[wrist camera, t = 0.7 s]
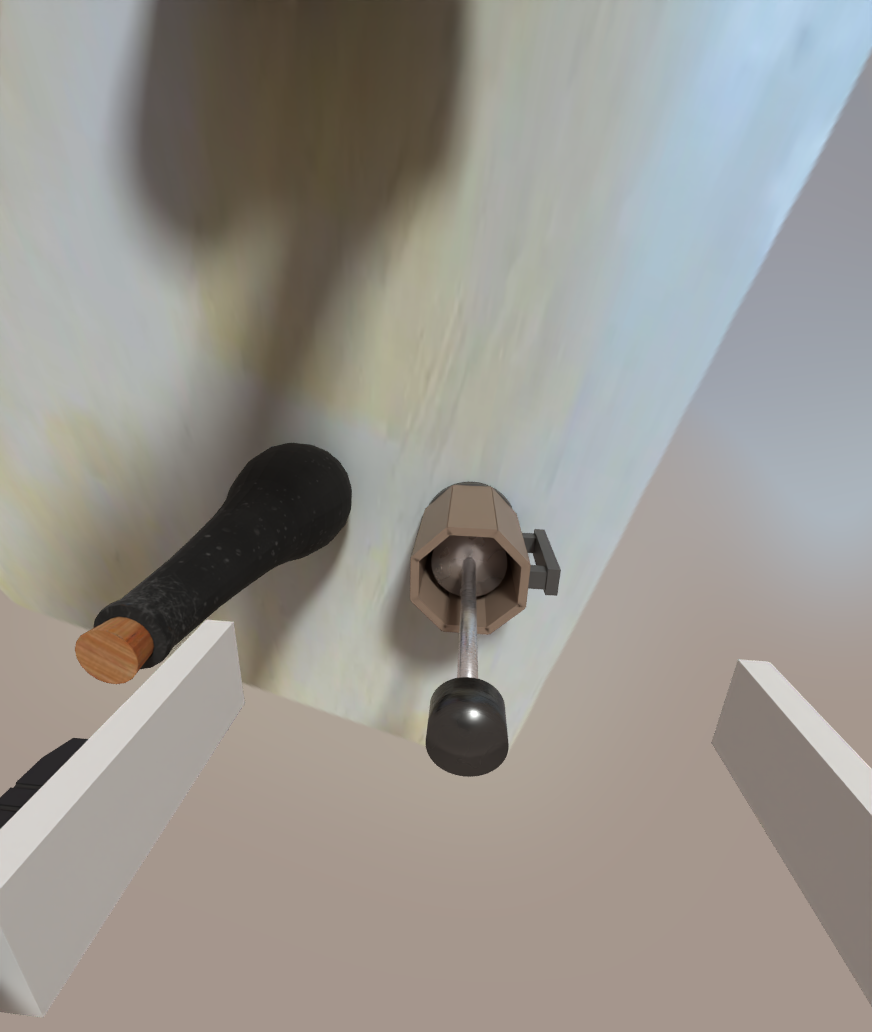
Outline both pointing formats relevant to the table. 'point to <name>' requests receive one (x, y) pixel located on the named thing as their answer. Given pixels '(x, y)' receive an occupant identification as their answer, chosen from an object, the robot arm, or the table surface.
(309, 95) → the table surface
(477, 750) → the plunger
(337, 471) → the bottle
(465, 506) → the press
